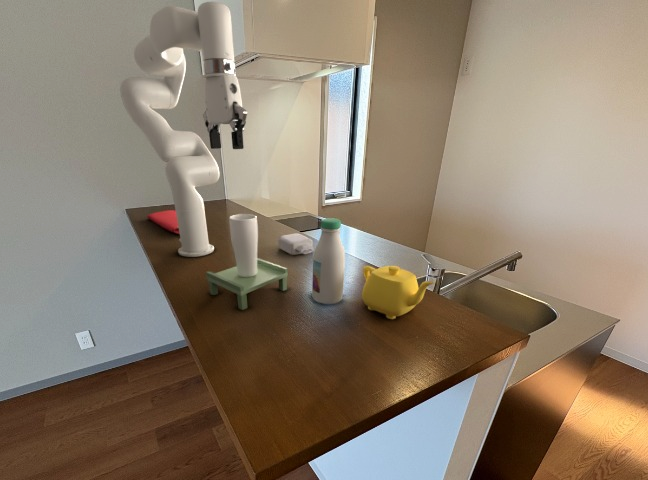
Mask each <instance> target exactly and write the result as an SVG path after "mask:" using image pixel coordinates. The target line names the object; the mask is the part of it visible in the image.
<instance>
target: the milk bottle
mask: <svg viewBox="0 0 648 480" xmlns="http://www.w3.org/2000/svg"><path fill="white" fill-rule="evenodd" d="M341 228H342V221H341V220H340V219H339V218H333V217H328V218H327V217H326V218H323V219H321V220H320V231H321V232H320V233H321V234H320V236H319V238H318V242H317V243H316V245H315V247H314V252H313V260H312V289H311V291H312V292H311V293H312V294H311V296H312V299H313V300H314V301H315V302H317V303H319V304H323V305H333V304H337V303H340V301H342V299H343V294H344V281H345V266H346V252H345V247H344V244H343V243H342V239H341V236H340V231H341Z"/></svg>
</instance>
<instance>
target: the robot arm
mask: <svg viewBox="0 0 648 480" xmlns="http://www.w3.org/2000/svg"><path fill="white" fill-rule="evenodd" d="M233 36H234V35H233V25H232V13H231V10H230V8H229V7H228V6H227V5H226V4H224V3H222V2H219V1H206V2H202V3H201V4H199V6H198V8H197V11H196V10H192V9H188V8H185V7H181V6H177V5H166V6H164V7H162V8H160V9H158V11H156V12H155V13H154V14H153V15H152V17H151V20H150V25H149V35H148V36H146V37H145V38H143V39H141V40H140V41H139V42H137V44H136V45H135V47H134V52H133V57H134V60H135V63H136V65H137V66H138V68H139V69H140V70H142V71H143V72H144V73H146V74H149V75H151V76H159V77H163V79H162V78H153V77H142V76H131V77H126V78H124V79H123V80H122V81H121V83H120V87H119V92H120V97H121V98H120V99H121V101H122V103H123V106H124V108H125V112H126V113H127V114H128V116H129V117H130V118H131V120H132V122H133V123H134V124H136V126H137V127H138V128H139V129H140V130H141V132H142V133H143V134H144V135H145V137H146V139H147V141H148V142H149V144H150V145H151V147H152V149H153V150H154V152H155V153H156V154H157V156H158V157H159V158H160V160H162V162H164V163H166V164H165V166H164V167H165V168H164V169H165V170H164V172H165V176H166V180H167V182H168V184H169V188H170V191H171V194H172V199H173V203H174V205H173V206H174V209H175V210H174V211H176V216H177V221H178V227H179V233H180V234H179V239H178V242H179V243H181V247H179V248H178V250H177V252H178V255H179V256H181V257H186V258H195V257H196V258H197V257H204V256H207V255H211V253H213V252H214V250H215V247H214V245H213V244H210V242H209V235H208V227H207V219H206V212H205V204H204V199H203V198H202V196H201V194H199V192H198V191H197V189H196V188H199V187H205V186H212V185H214V184H216V183H217V182H218V181H219V179H220V169H219V165H218V162H217V161H216V159H215V158H214V156H213V154H212V153H211V151H210V150H209V149H208V146H207V145H206V144H205V142H204V141H203V139H202V137H200V136H199V135H198V134H197V133H195V132H194V131H189V130H176V129H173V128H172V127H171V126H170V125H169V123H168V121H167V119H165V118H164V117H163V116H162V115H161V114H160V113H158V112H157V111H155V110H154V109H157V110H172V109H174V108H175V107H177V105H178V102H179V99H180V95H181V91H182V87H183V83H184V80H185V75H186V69H187V68H186V67H187V61H186V55H185V54H184V50H190V51H195V52H201V58H202V64H203V65H202V66H203V75H204V98H205V99H204V101H205V111H204V112H203V113H202V118H203V121H204V125H205V127H206V128H207V129H206V131H207V132H208V137H209V145H210V149H212V150H215V149H216V150H217V149H221V148H222V139H221V132H219V129H220V127H221V125H229V127H230V128H231V130H232V131H231V133H230V134H231V145H232V149H233V150H243V149H244V148H245V147H244V131H245V126H246V124H247V123H246V122H247V116H248V111H247V109H245V108H244V107H243V100H242V93H241V87H240V83H239V78H238V77H237V76H236V65H235V49H234V39H233V38H234V37H233Z"/></svg>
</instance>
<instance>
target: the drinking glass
mask: <svg viewBox="0 0 648 480" xmlns="http://www.w3.org/2000/svg"><path fill="white" fill-rule="evenodd" d="M228 221H229V223H228V224H229V232H230V233H229V234H230V239H231V245H232V249H233V250H232V251H233V255H234V261H235V265H236V267H237V274H238V275H239V276H241V277H252V276H255V275H256V274H257V258H258V250H259V249H258V248H259V247H258V246H259V225H258V217H257V215H256V214H252V213H237V214H233V215H230V216H229V218H228Z"/></svg>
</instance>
